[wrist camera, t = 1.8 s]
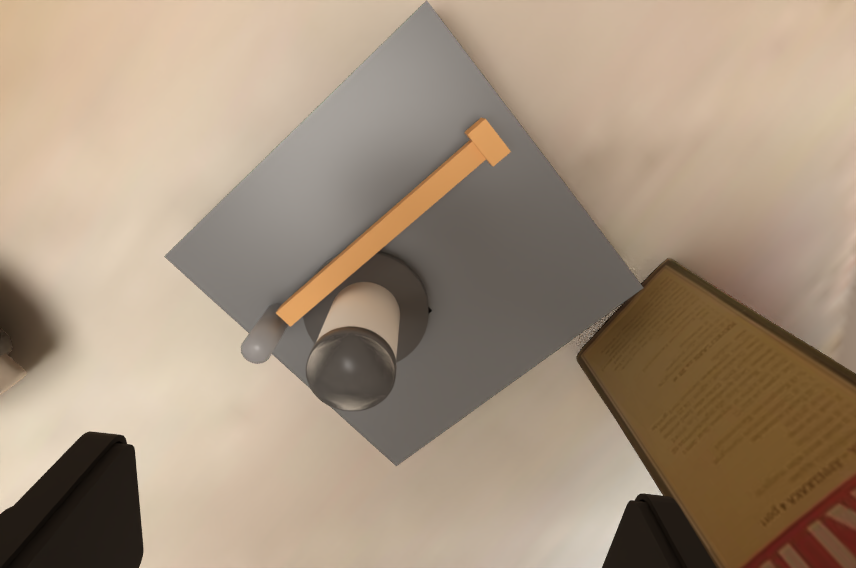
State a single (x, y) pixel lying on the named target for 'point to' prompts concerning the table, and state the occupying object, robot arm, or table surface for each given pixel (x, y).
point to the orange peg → (398, 218)
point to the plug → (365, 333)
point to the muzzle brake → (8, 365)
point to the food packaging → (733, 422)
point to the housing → (413, 235)
